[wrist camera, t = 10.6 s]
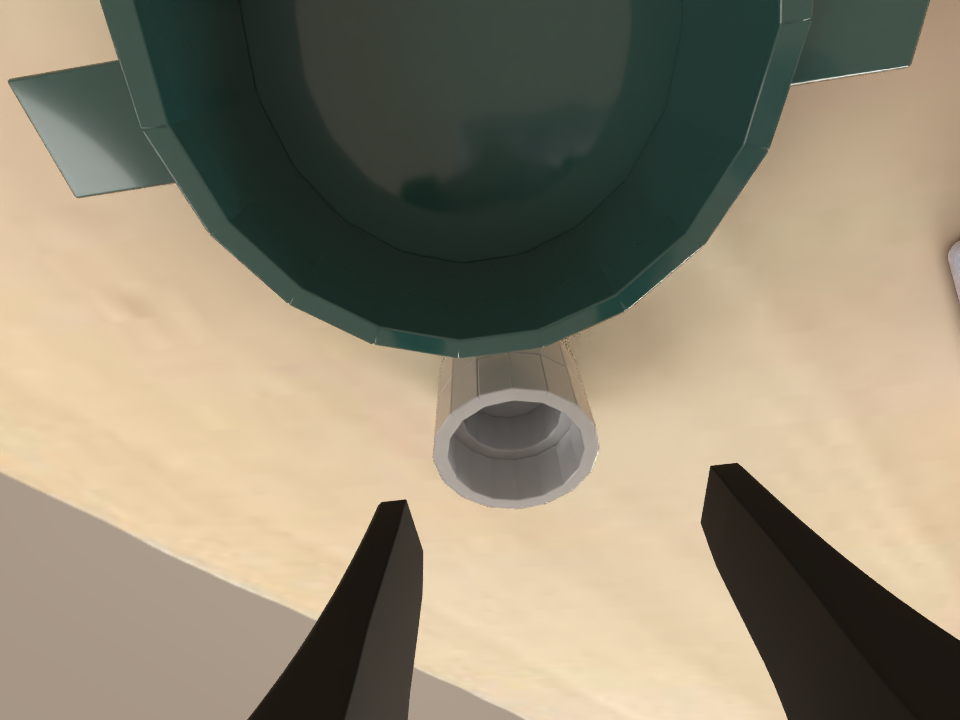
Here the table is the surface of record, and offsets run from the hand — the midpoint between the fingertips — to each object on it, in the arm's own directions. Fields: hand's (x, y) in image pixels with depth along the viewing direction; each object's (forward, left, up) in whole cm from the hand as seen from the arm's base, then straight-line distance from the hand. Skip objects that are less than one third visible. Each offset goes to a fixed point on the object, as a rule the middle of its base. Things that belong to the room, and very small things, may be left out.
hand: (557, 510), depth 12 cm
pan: (-4, -8, -8) cm, 12 cm away
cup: (+2, +1, -8) cm, 9 cm away
